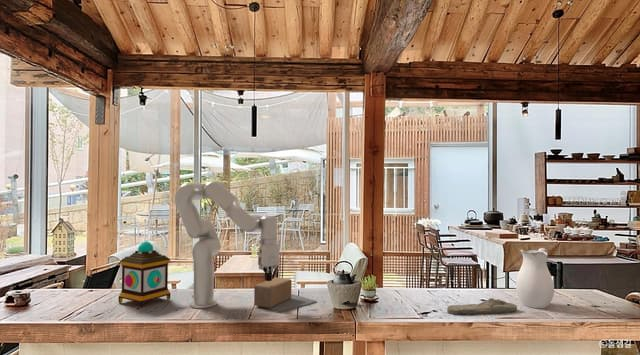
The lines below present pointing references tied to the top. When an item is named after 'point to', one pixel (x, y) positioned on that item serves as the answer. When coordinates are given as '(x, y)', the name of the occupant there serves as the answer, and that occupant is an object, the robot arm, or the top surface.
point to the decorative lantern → (144, 275)
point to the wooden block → (272, 292)
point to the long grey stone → (483, 307)
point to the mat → (292, 303)
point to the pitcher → (534, 280)
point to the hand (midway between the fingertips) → (268, 280)
